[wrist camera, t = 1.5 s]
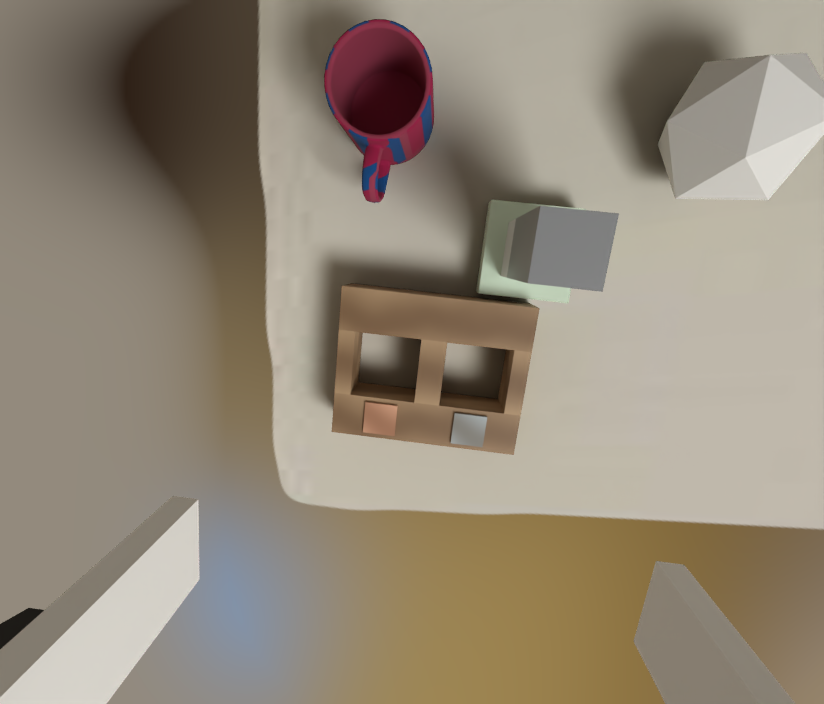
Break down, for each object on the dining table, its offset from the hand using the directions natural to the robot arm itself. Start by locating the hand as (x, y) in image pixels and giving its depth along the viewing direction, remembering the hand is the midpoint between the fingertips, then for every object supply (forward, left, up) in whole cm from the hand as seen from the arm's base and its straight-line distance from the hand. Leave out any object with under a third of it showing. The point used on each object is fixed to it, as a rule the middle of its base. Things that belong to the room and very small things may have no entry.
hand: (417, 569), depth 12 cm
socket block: (0, 0, -25) cm, 25 cm away
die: (-19, +18, -25) cm, 36 cm away
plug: (-10, +7, -23) cm, 26 cm away
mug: (-17, -6, -25) cm, 31 cm away
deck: (-10, +7, -25) cm, 27 cm away
